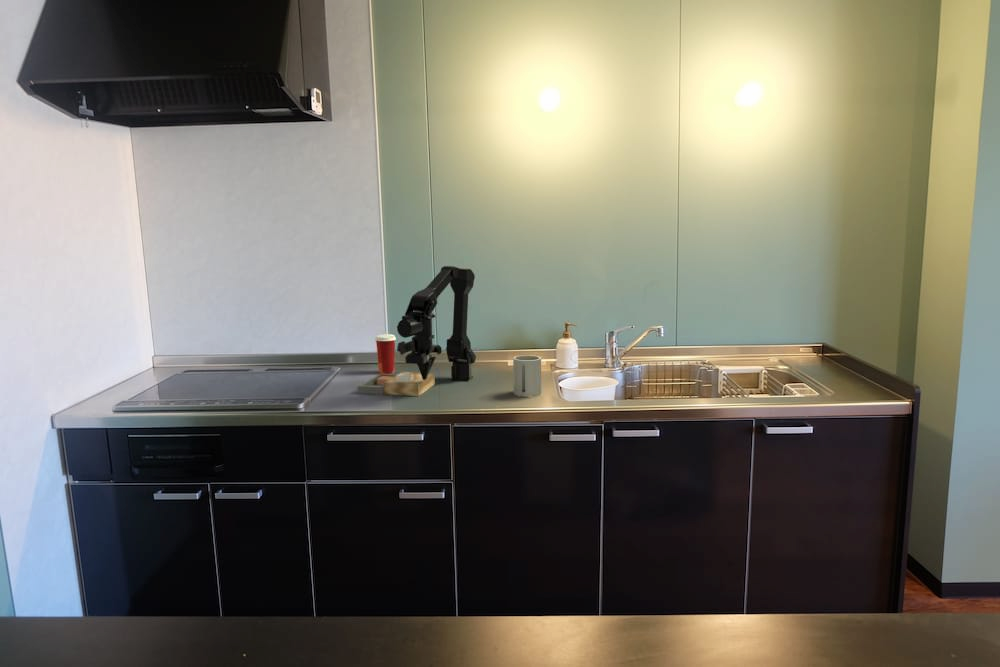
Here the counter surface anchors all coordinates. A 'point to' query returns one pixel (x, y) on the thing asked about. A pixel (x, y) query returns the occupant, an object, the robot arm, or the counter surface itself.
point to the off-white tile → (404, 377)
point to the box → (372, 386)
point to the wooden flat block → (409, 385)
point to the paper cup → (386, 353)
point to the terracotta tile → (382, 380)
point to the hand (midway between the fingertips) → (424, 379)
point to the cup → (527, 375)
